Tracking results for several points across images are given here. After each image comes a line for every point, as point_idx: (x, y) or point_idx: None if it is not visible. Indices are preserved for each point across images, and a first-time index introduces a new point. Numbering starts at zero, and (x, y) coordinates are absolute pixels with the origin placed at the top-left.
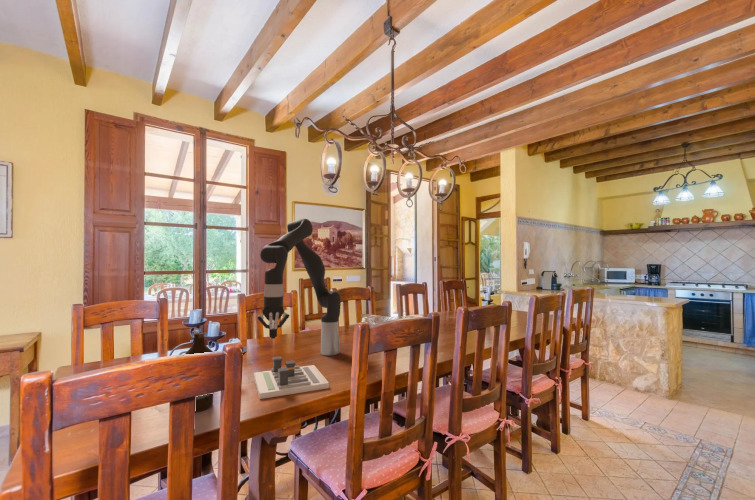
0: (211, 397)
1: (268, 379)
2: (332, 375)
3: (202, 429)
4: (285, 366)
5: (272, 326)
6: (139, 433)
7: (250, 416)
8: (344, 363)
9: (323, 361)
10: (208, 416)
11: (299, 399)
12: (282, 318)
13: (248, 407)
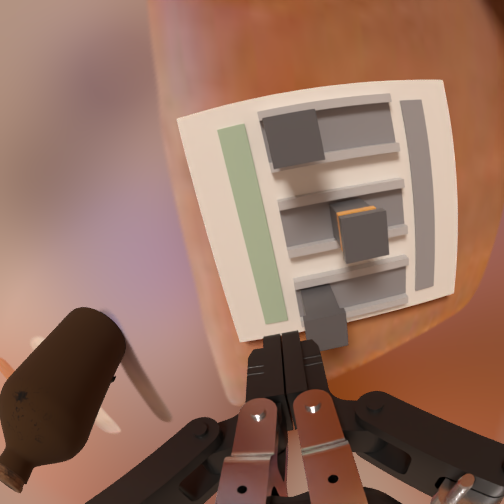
0: (118, 361)
1: (255, 226)
2: (481, 175)
3: (159, 418)
4: (337, 214)
5: (284, 459)
6: None
7: (235, 402)
8: None
9: (458, 8)
10: (144, 384)
11: (354, 347)
12: (437, 461)
13: (220, 368)
